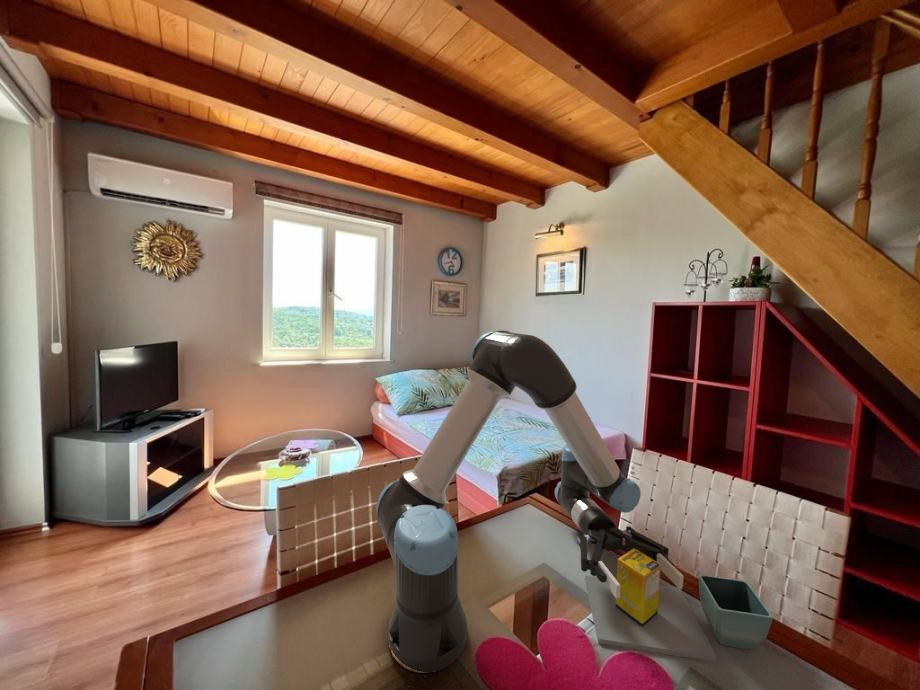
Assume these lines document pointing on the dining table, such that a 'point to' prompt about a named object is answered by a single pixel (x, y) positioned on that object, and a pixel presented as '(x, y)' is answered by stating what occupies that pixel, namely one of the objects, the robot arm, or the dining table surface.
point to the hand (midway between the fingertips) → (650, 587)
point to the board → (649, 624)
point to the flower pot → (734, 611)
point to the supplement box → (638, 586)
